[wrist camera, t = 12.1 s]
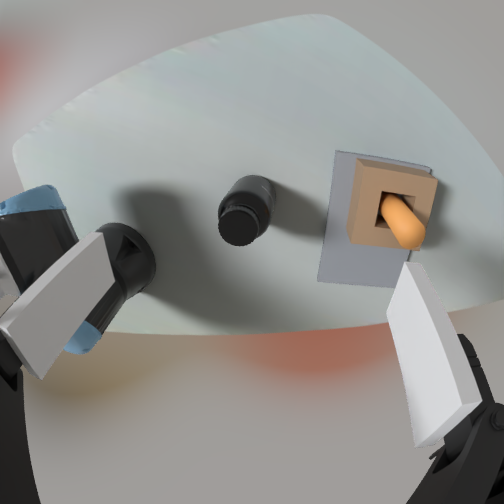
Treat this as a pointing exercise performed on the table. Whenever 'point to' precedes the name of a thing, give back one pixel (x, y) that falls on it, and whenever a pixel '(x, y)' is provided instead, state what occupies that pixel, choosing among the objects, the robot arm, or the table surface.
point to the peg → (401, 220)
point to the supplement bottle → (246, 210)
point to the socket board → (338, 239)
